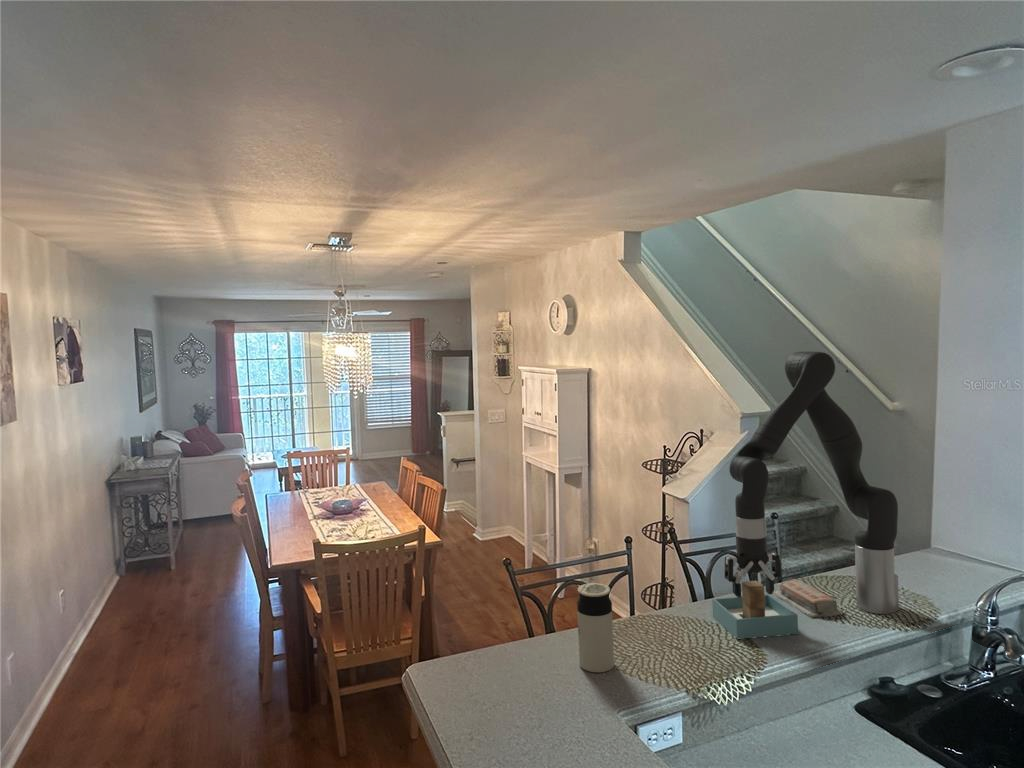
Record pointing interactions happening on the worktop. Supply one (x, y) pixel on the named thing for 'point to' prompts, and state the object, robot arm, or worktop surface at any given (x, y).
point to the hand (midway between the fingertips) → (753, 594)
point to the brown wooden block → (753, 599)
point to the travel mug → (595, 628)
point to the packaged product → (807, 599)
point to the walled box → (755, 618)
